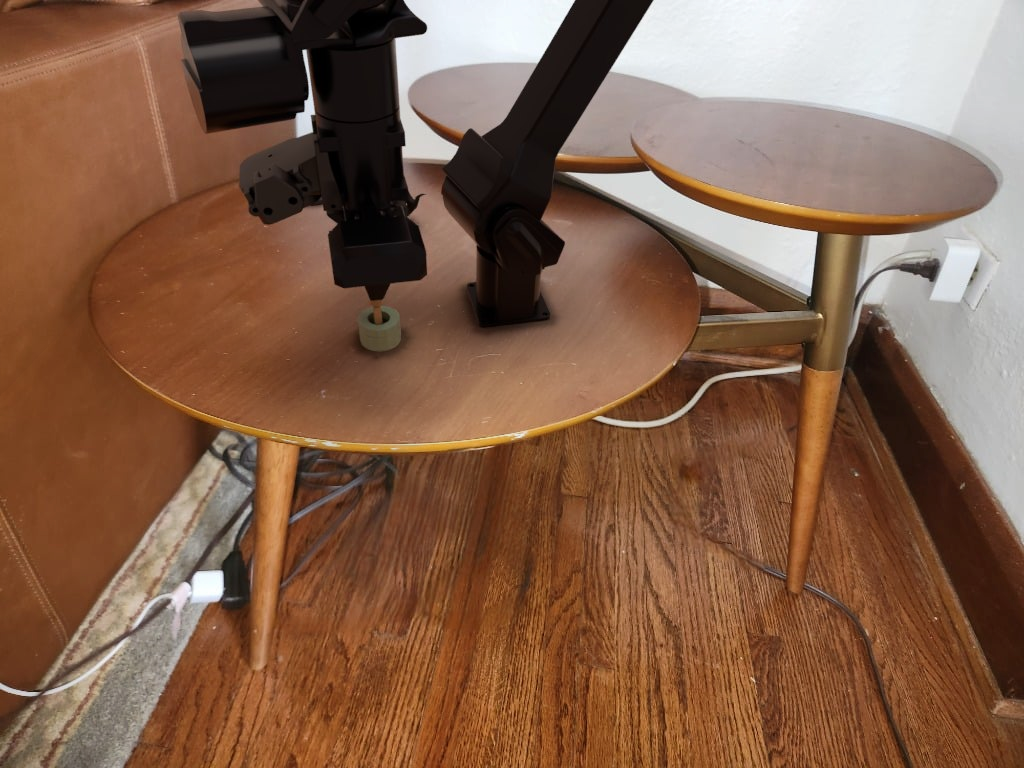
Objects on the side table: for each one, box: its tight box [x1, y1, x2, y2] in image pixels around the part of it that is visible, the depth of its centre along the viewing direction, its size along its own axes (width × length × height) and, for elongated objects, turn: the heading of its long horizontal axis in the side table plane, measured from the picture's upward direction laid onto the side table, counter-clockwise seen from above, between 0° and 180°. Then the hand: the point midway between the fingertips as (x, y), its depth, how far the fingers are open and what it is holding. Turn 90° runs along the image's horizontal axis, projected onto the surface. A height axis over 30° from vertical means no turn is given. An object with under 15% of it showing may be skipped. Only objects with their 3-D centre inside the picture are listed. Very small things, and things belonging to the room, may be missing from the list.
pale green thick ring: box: [357, 304, 402, 352], centre depth 66 cm, size 3×4×2 cm
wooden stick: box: [369, 299, 383, 325], centre depth 62 cm, size 1×1×9 cm
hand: (375, 294), depth 63 cm, fingers closed on wooden stick, 1 cm apart
